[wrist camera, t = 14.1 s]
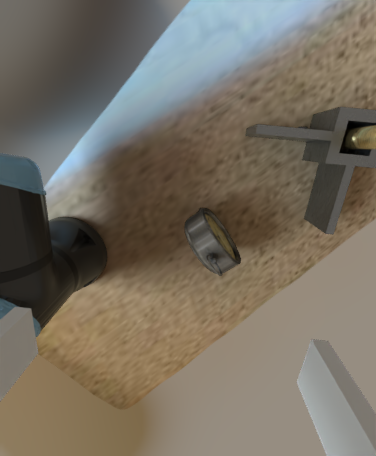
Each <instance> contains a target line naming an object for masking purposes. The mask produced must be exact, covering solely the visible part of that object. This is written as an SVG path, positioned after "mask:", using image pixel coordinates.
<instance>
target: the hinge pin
mask: <svg viewBox="0 0 376 456" xmlns="http://www.w3.org/2000/svg"><path fill="white" fill-rule="evenodd" d="M340 149H376V125H374V126H366V127H358V128H350V129H346V131H345V134H344V138H343V141H342V145H341V148H340Z"/></svg>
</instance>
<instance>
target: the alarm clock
mask: <svg viewBox="0 0 376 456" xmlns="http://www.w3.org/2000/svg"><path fill="white" fill-rule="evenodd" d="M185 234H186V237H187V240H188V242H189V245H190V247H191V248H192V250H193V252H194V253H195V255H196V256H197V258H198V259H199V260H200V262H201V263H202V264H203V265H204V266H205V267H206V268H207V269H209V270H210V271H211V272H213V273H216V274H218V275H219V276H222V274H223V273H224V272H226V271H228V270H230V269H231V268H233V267H235V266H236V265H238V264H240V262H241V258H240V255H239V252H238V250H237V248H236V245H235V244H234V242H233V240H232V238H231V237H230V235H229V233H228V232H227V230H226V229H225V227H224V226H223V225H222V223H221V222H220V221H219V220H218V218H217V217H216V216H215V215H214V214H213V213H212V212H211V211H210V210H208V209H207V208H203V209H202V208H200V209H199V212H197V213H196V214H195V215H193V216H192V217H190V218H189V219H188V220H187V221H186V223H185Z"/></svg>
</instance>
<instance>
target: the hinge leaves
mask: <svg viewBox="0 0 376 456" xmlns="http://www.w3.org/2000/svg"><path fill="white" fill-rule="evenodd" d="M374 125H376V110H369V109H358V108H347V107H338V108H335V109H331V110H328V111H324V112H321V113H317V114H314V115H313V117H312V121H311V126H310V129H307V127H298V128H292V127H281V126H271V125H260V124H257V125H254V126H252V127H249V128H247V129H246V135H245V136H250V137H261V138H271V139H282V140H292V141H303V142H306V146H305V150H304V154H303V159H302V160H305V161H312V162H319V165H318V169H317V173H316V177H315V180H314V184H313V188H312V191H311V195H310V199H309V203H308V206H307V210H306V214H305V218H304V219H305V220H307V221H308V222H310V223H311V224H312V225H314V226H315V227H317V228H318V229H320V230H321V231H322V232H324V233H325V234H334V231H335V227H336V224H337V221H338V218H339V215H340V212H341V209H342V205H343V202H344V199H345V196H346V193H347V190H348V187H349V183H350V180H351V177H352V174H353V171H354V168H355V166H359V167H369V168H376V149H340V148H341V145H342V141H343V138H344V134H345V131H346V129H350V128H358V127H366V126H374Z"/></svg>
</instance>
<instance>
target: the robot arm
mask: <svg viewBox="0 0 376 456" xmlns="http://www.w3.org/2000/svg"><path fill="white" fill-rule="evenodd" d="M45 195H46V191H45V190H44V188H43V183H42V178H41V173H40V169H39V167H38V166H37V164H36V163H35V162H34V161H32V160H31V159H29V158H26V157H21V156H16V155H9V154H3V153H0V401H1V400H2V399H3V398H4V396H5V395H6V394H7V392H8V391H9V390H10V389H11V387H12V386H13V385H14V383H15V382H16V381H17V380H18V378H19V377H20V376H21V374H22V373H23V372H24V371H25V369H26V368H27V367H28V366H29V364H30V363H31V361H32V360H33V359H34V358H35V357H36V355H37V354H38V348H37V342H36V337H37V336H38V335H39V334H40V331H41V330H42V329H43V328H44V327H45V325H46V324H47V323H48V322H49V321H50V319H51V318H52V317H53V316H54V315H55V314H56V312H57V311H58V310H59V309H60V308H61V306H62V305H63V304H64V303H65V302H66V300H67V299H68V298H69V297H70V296H71V295H72V294H73V293H74V292H76V291H78V290H80V289H82V288H83V287H86V286H88V285H90V284H91V283H93V282H94V281H95V280H96V279H97V278H98V277H99V275H100V274H101V273H102V271H103V270H104V268H105V265H106V262H107V251H106V247H105V244H104V242H103V240H102V238H101V237H100V235H99V234H98V233H97V232H96V231H95V230H94V229H93V228H92V227H91V226H89V225H88V224H86V223H85V222H83V221H80V220H78V219H74V218H69V217H60V218H55V219H52V220H50V221H48V213H47V205H46V197H45ZM297 384H298V386H299V389H300V391H301V394H302V396H303V399H304V401H305V404H306V406H307V408H308V411H309V413H310V416H311V418H312V421H313V423H314V426H315V428H316V430H317V433H318V435H319V438H320V440H321V443H322V445H323V448H324V450H325V453H326V455H327V456H376V414H375V412H374V410H373V409H372V407H371V406H370V404H369V403H368V401H367V400H366V398H365V396H364V395H363V394H362V392H361V390H360V389H359V387H358V386H357V384H356V383H355V381H354V380H353V378H352V377H351V375H350V374H349V372H348V371H347V369H346V368H345V366H344V364H343V363H342V361H341V360H340V358H339V357H338V355H337V354H336V352H335V351H334V349H333V348H332V346H331V345H330V343H329V342H328V341H324V340H315V339H311V342H310V345H309V348H308V350H307V353H306V356H305V359H304V362H303V366H302V368H301V371H300V374H299V377H298V380H297Z"/></svg>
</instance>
